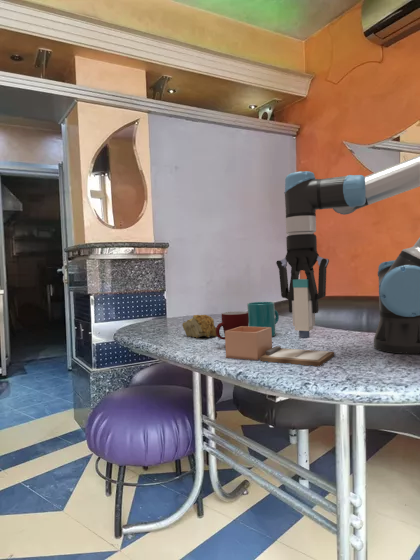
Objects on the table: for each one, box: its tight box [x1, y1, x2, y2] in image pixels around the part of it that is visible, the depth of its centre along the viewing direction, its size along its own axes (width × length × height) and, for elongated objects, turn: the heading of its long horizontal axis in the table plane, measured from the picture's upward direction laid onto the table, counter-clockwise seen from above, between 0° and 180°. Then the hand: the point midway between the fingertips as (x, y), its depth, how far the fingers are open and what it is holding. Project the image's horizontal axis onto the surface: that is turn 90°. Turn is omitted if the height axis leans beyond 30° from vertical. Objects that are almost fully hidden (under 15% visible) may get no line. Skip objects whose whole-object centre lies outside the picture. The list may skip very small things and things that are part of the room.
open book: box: [259, 345, 335, 367], centre depth 103 cm, size 15×12×2 cm
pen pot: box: [224, 326, 273, 361], centre depth 109 cm, size 9×9×7 cm
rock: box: [182, 314, 217, 339], centre depth 143 cm, size 12×9×10 cm
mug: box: [215, 310, 249, 341], centre depth 122 cm, size 11×8×10 cm
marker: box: [293, 278, 314, 339], centre depth 105 cm, size 4×4×15 cm
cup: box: [246, 301, 280, 338], centre depth 139 cm, size 9×12×11 cm
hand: (304, 325), depth 105 cm, fingers closed on marker, 4 cm apart
